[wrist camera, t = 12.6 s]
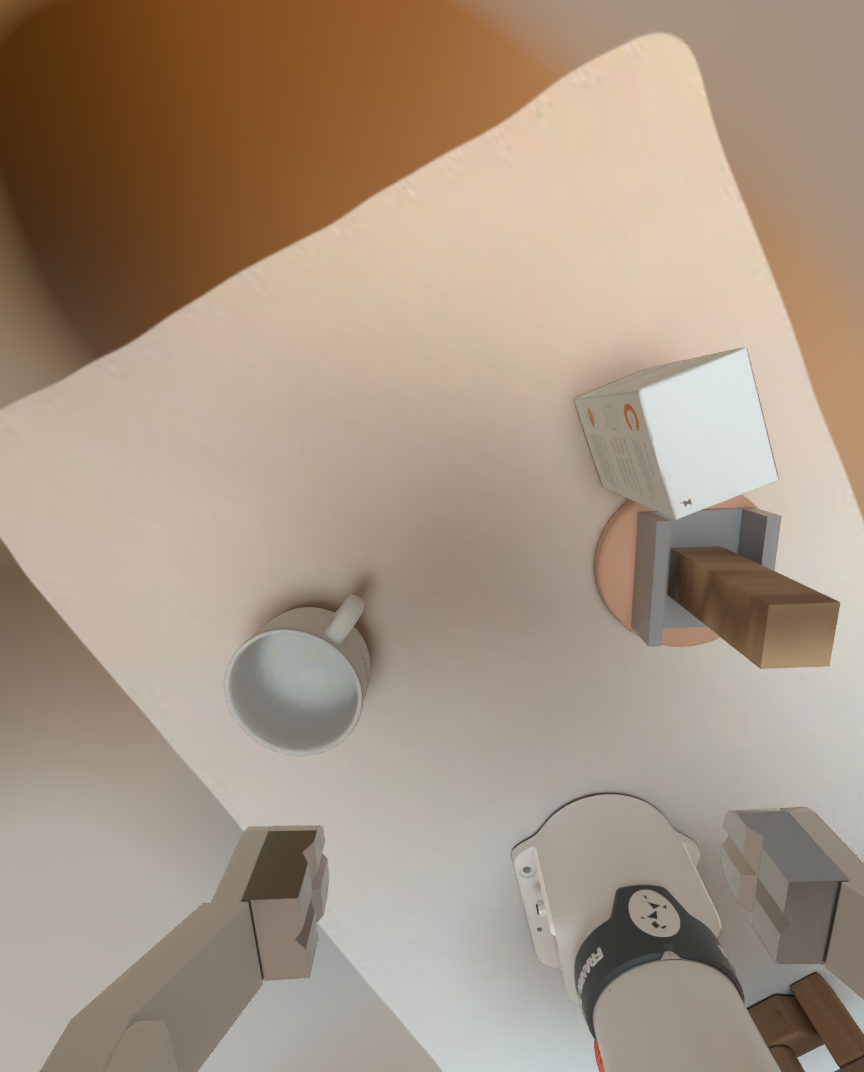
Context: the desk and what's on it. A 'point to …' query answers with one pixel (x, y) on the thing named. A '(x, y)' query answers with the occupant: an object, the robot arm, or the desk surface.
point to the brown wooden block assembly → (809, 1026)
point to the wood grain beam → (754, 607)
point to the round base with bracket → (644, 557)
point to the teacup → (301, 679)
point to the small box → (680, 434)
